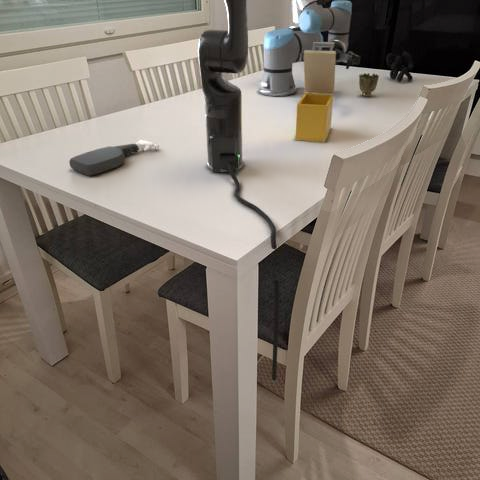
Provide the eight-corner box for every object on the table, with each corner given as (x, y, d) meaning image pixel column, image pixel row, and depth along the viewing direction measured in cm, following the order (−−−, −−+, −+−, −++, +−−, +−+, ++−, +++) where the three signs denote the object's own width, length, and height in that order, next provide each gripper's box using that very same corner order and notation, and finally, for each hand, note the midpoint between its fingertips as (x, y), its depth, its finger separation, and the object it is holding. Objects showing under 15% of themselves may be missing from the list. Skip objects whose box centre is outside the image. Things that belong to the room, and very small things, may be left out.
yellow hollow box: (324, 142, 134) (328, 106, 128) (295, 139, 136) (297, 104, 131) (330, 128, 145) (333, 94, 139) (302, 126, 147) (304, 93, 141)
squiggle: (400, 92, 202) (376, 71, 205) (417, 76, 202) (392, 56, 205) (405, 81, 191) (380, 59, 194) (423, 64, 191) (397, 42, 194)
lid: (335, 53, 127) (339, 36, 131) (303, 52, 129) (309, 35, 133) (333, 93, 138) (337, 76, 143) (304, 92, 141) (309, 75, 145)
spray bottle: (67, 168, 120) (139, 144, 136) (91, 178, 114) (163, 151, 130) (65, 157, 118) (137, 134, 134) (89, 167, 112) (162, 142, 128)
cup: (354, 97, 177) (357, 76, 172) (359, 92, 182) (362, 72, 178) (373, 99, 174) (376, 77, 169) (378, 94, 179) (381, 73, 175)
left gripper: (317, -67, 119) (313, 1, 128) (308, -70, 108) (304, 5, 116) (346, -68, 117) (339, 1, 126) (340, -71, 106) (333, 5, 114)
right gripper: (367, 64, 162) (363, 77, 145) (299, 60, 168) (288, 72, 151) (370, 42, 158) (367, 53, 141) (301, 38, 164) (289, 49, 147)
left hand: (323, 3), depth 121 cm, fingers open, 8 cm apart
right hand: (326, 63), depth 146 cm, fingers open, 13 cm apart
